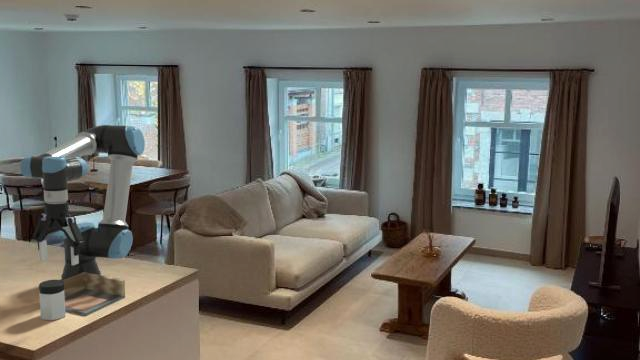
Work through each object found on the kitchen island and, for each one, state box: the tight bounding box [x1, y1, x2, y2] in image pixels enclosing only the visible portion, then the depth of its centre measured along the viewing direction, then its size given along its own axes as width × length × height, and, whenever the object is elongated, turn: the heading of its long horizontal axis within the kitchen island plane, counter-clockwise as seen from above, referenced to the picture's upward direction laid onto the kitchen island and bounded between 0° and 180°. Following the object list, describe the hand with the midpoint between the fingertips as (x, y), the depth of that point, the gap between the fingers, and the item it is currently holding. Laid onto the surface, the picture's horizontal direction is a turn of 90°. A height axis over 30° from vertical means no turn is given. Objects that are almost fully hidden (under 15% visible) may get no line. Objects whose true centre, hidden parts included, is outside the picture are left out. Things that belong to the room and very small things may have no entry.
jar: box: [38, 279, 67, 321], centre depth 220 cm, size 9×8×12 cm
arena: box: [62, 272, 126, 317], centre depth 234 cm, size 20×20×7 cm
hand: (59, 261), depth 219 cm, fingers open, 13 cm apart
